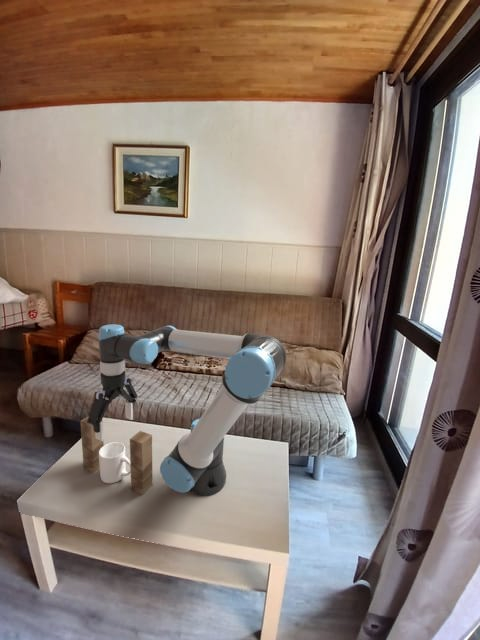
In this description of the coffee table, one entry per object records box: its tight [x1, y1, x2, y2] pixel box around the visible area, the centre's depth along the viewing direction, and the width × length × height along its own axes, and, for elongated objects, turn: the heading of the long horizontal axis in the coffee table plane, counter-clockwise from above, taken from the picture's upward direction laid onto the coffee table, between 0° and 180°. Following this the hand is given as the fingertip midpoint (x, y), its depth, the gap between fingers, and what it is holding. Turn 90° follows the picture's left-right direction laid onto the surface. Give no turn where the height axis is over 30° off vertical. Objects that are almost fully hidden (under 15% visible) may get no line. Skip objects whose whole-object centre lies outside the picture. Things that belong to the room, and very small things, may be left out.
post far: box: [79, 415, 105, 474], centre depth 112 cm, size 5×5×20 cm
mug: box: [99, 441, 131, 484], centre depth 109 cm, size 9×12×11 cm
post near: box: [129, 430, 153, 495], centre depth 104 cm, size 5×5×20 cm
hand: (115, 428), depth 106 cm, fingers open, 13 cm apart
